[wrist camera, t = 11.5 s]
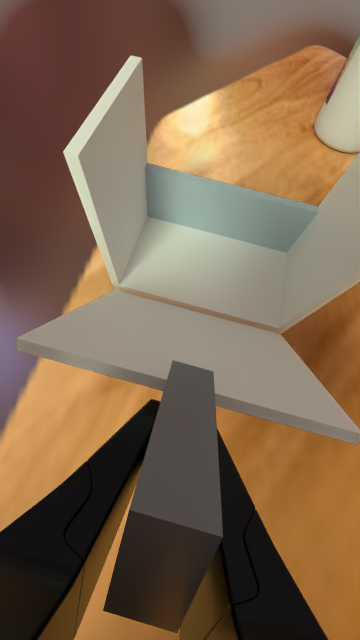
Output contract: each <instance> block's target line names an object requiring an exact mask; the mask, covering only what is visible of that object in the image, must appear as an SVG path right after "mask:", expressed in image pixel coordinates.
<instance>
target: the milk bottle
mask: <svg viewBox="0 0 360 640" xmlns="http://www.w3.org/2000/svg"><path fill="white" fill-rule="evenodd" d="M314 131H315V134H316V136H317V137H318V138H319V140H320V141H322V142H323V143H324V144H325V145H327V146H328V147H330V148H333V149H335V150H338V151H341V152H345V153H358V152H360V36H359V38H358V40H357V41H356V43H355V45H354V47H353V49H352V51H351V53H350V55H349V56H348V58H347V60H346V62H345V64H344V66H343V68H342V70H341V72H340V73H339V75H338V77H337V79H336V81H335V83H334V85H333V87H332V89H331V91H330V92H329V94H328V96H327V98H326V100H325V102H324V104H323V106H322V108H321V110H320V112H319V114H318V116H317V118H316V120H315V123H314Z"/></svg>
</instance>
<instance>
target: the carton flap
mask: <svg viewBox="0 0 360 640" xmlns="http://www.w3.org/2000/svg"><path fill="white" fill-rule="evenodd" d="M16 350H18V351H22V352H25V353H29V354H32V355H36V356H40V357H43V358H47V359H50V360H54V361H58V362H61V363H65V364H68V365H72V366H75V367H79V368H83V369H86V370H90V371H93V372H97V373H101V374H104V375H108V376H111V377H115V378H119V379H122V380H126V381H129V382H133V383H136V384H140V385H144V386H147V387H151V388H154V389H158V390H162V391H164V392H163V395H162V399H161V402H160V406H159V409H158V413H157V416H156V420H155V423H154V426H153V430H152V433H151V437H150V440H149V444H148V447H147V451H146V454H145V458H144V461H143V464H142V468H141V471H140V475H139V478H138V482H137V485H136V489H135V492H134V496H133V499H132V503H131V506H130V509H129V513H128V517H127V521H126V525H125V529H124V532H123V536H122V540H121V544H120V548H119V552H118V555H117V559H116V563H115V567H114V571H113V575H112V578H111V582H110V586H109V590H108V594H107V598H106V601H105V605H104V609H103V611H106V612H109V613H112V614H116V615H119V616H122V617H125V618H129V619H132V620H135V621H139V622H142V623H145V624H149V625H152V626H155V627H158V628H162V629H165V630H168V631H172V632H175V633H177V632H178V630H179V628H180V626H181V624H182V621H183V619H184V617H185V615H186V613H187V611H188V609H189V607H190V605H191V603H192V601H193V599H194V597H195V594H196V592H197V590H198V588H199V586H200V584H201V582H202V580H203V578H204V576H205V574H206V572H207V569H208V567H209V565H210V563H211V561H212V559H213V557H214V555H215V553H216V551H217V549H218V547H219V545H220V542H221V540H222V538H223V528H222V511H221V493H220V476H219V459H218V441H217V424H216V407H215V406H219V407H223V408H226V409H230V410H233V411H237V412H240V413H244V414H248V415H251V416H255V417H258V418H262V419H266V420H269V421H273V422H276V423H280V424H284V425H287V426H291V427H294V428H298V429H301V430H305V431H309V432H312V433H316V434H319V435H323V436H327V437H330V438H334V439H337V440H341V441H345V442H348V443H352V444H355V445H358V443H359V442H360V429H359V428H358V427H357V426H356V425H355V423H354V422H353V421H352V420H351V419H350V417H349V416H348V415H347V414H346V413H345V411H344V410H343V409H342V408H341V406H340V405H339V404H338V403H337V402H336V400H335V399H334V398H333V397H332V396H331V394H330V393H329V392H328V391H327V390H326V388H325V387H324V386H323V385H322V384H321V382H320V381H319V380H318V379H317V378H316V376H315V375H314V374H313V373H312V372H311V370H310V369H309V368H308V367H307V365H306V364H305V363H304V362H303V361H302V359H301V358H300V357H299V356H298V355H297V353H296V352H295V351H294V350H293V349H292V347H291V346H290V345H289V344H288V343H287V341H286V340H285V339H284V338H283V337H282V335H281V334H277V333H274V332H270V331H266V330H262V329H259V328H255V327H251V326H248V325H244V324H240V323H236V322H233V321H229V320H225V319H222V318H218V317H214V316H210V315H207V314H203V313H199V312H196V311H192V310H188V309H185V308H181V307H177V306H173V305H170V304H166V303H162V302H159V301H155V300H151V299H147V298H144V297H140V296H136V295H133V294H129V293H125V292H122V291H118V290H113V291H111V292H109V293H107V294H105V295H103V296H101V297H99V298H97V299H95V300H93V301H91V302H89V303H87V304H85V305H83V306H81V307H79V308H77V309H75V310H73V311H71V312H68V313H66V314H64V315H62V316H60V317H58V318H56V319H54V320H52V321H50V322H48V323H46V324H44V325H42V326H40V327H38V328H36V329H34V330H32V331H30V332H28V333H26V334H24V335H22V336H20V337H18V338H16Z"/></svg>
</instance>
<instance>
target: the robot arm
mask: <svg viewBox="0 0 360 640" xmlns="http://www.w3.org/2000/svg"><path fill="white" fill-rule="evenodd" d="M159 406H160V401H157V400H154V399H151V400H150V401H149V402H147V403H146V404H145V405H144V406H143V407H142V408H141V409H140V410H139V411H138V412H137V413H136V414H135V415H134V416H133V417H132V418H131V419H130V420H129V421H128V422H127V423H126V424H124V425H123V426H122V427H121V428H120V429H119V430H118V431H117V432H116V433H115V434H114V435H113V436H112V437H111V438H110V439H109V440H108V441H107V442H106V443H105V444H104V445H103V446H101V447H100V448H99V449H98V450H97V451H96V452H95V453H94V454H93V455H92V456H91V457H90V458H89V459H88V461H86V462H85V463H84V464H82V465H81V466H80V467H79V468H78V469H77V470H76V471H75V472H74V473H73V474H72V475H71V476H70V477H68V478H67V479H66V480H65V481H64V482H63V483H62V484H61V485H59V486H58V487H57V488H56V489H54V490H53V491H52V492H51V493H50V494H48V495H47V496H46V497H45V498H43V499H42V500H41V501H39V502H38V503H37V504H36V505H34V506H33V507H32V508H30V509H29V510H28V511H27V512H25V513H24V514H23V515H21V516H20V517H19V518H18V519H16V520H15V521H14V522H12V523H11V524H10V525H9V526H7V527H6V528H5V529H4V530H2V531H1V532H0V640H73V639H74V638H75V635H76V633H77V631H78V628H79V626H80V623H81V621H82V618H83V616H84V613H85V611H86V608H87V606H88V603H89V601H90V598H91V596H92V593H93V591H94V588H95V586H96V583H97V581H98V578H99V576H100V573H101V571H102V568H103V566H104V563H105V561H106V558H107V556H108V553H109V551H110V549H111V546H112V544H113V541H114V539H115V536H116V534H117V531H118V529H119V526H120V524H121V521H122V519H123V516H124V514H125V511H126V509H127V506H128V504H129V501H130V499H131V496H132V494H133V491H134V489H135V486H136V484H137V481H138V478H139V475H140V471H141V468H142V464H143V461H144V458H145V454H146V451H147V447H148V444H149V440H150V437H151V433H152V430H153V426H154V423H155V420H156V416H157V413H158V409H159ZM217 441H218V459H219V476H220V493H221V511H222V528H223V538H222V540H221V542H220V545H219V547H218V549H217V551H216V553H215V555H214V557H213V559H212V561H211V563H210V565H209V567H208V569H207V572H206V574H205V576H204V578H203V580H202V582H201V584H200V586H199V588H198V590H197V592H196V594H195V597H194V599H193V601H192V603H191V605H190V607H189V609H188V611H187V613H186V615H185V617H184V619H183V621H182V624H181V626H180V640H328V638H327V637H326V635H325V633H324V632H323V630H322V628H321V627H320V625H319V623H318V621H317V620H316V618H315V616H314V614H313V613H312V611H311V609H310V607H309V606H308V604H307V602H306V601H305V599H304V597H303V595H302V594H301V592H300V590H299V588H298V587H297V585H296V583H295V582H294V580H293V578H292V576H291V575H290V573H289V571H288V569H287V568H286V566H285V564H284V562H283V560H282V559H281V557H280V555H279V553H278V551H277V550H276V548H275V546H274V544H273V542H272V540H271V538H270V536H269V534H268V532H267V530H266V528H265V526H264V525H263V522H262V520H261V518H260V516H259V514H258V512H257V510H255V506H254V504H253V502H252V500H251V498H250V496H249V494H248V491H247V489H246V487H245V485H244V483H243V481H242V479H241V477H240V475H239V473H238V471H237V469H236V467H235V464H234V462H233V460H232V458H231V456H230V454H229V452H228V450H227V448H226V446H225V444H224V442H223V439H222V437H221V435H220V433H219V431H218V429H217Z"/></svg>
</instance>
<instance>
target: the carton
mask: <svg viewBox="0 0 360 640" xmlns="http://www.w3.org/2000/svg"><path fill="white" fill-rule="evenodd" d="M63 153H64V155H65V158H66V161H67V164H68V166H69V169H70V171H71V174H72V177H73V180H74V182H75V185H76V188H77V191H78V193H79V196H80V199H81V201H82V204H83V207H84V209H85V212H86V215H87V217H88V220H89V223H90V225H91V228H92V231H93V234H94V236H95V239H96V242H97V244H98V247H99V250H100V253H101V255H102V258H103V261H104V263H105V266H106V269H107V271H108V274H109V277H110V280H111V282H112V285H113V288H114V290H118V291H122V292H125V293H129V294H133V295H136V296H140V297H144V298H147V299H151V300H155V301H159V302H162V303H166V304H170V305H173V306H177V307H181V308H185V309H188V310H192V311H196V312H199V313H203V314H207V315H210V316H214V317H218V318H222V319H225V320H229V321H233V322H236V323H240V324H244V325H248V326H251V327H255V328H259V329H262V330H266V331H270V332H274V333H277V334H282V333H283V332H285V331H286V330H288V329H289V328H291V327H292V326H294V325H295V324H297V323H298V322H300V321H301V320H303V319H304V318H306V317H307V316H309V315H310V314H312V313H313V312H315V311H316V310H318V309H319V308H321V307H322V306H324V305H325V304H327V303H328V302H330V301H331V300H333V299H334V298H336V297H337V296H339V295H340V294H342V293H343V292H345V291H346V290H348V289H349V288H351V287H352V286H354V285H355V284H357V283H359V282H360V153H359V154H358V155H357V156H356V158H355V159H354V160H353V162H352V163H351V164H350V166H349V167H348V168H347V170H346V171H345V172H344V174H343V175H342V176H341V177H340V179H339V180H338V181H337V183H336V184H335V185H334V187H333V188H332V189H331V191H330V192H329V193H328V195H327V196H326V197H325V198H324V200H323V201H322V202H321V204H320V205H319V206H318V207H317V206H313V205H309V204H306V203H302V202H298V201H294V200H290V199H286V198H282V197H278V196H274V195H270V194H266V193H263V192H259V191H255V190H251V189H247V188H243V187H239V186H235V185H231V184H227V183H223V182H220V181H216V180H212V179H208V178H204V177H200V176H196V175H192V174H188V173H184V172H180V171H177V170H173V169H169V168H165V167H161V166H157V165H153V164H149V163H147V147H146V128H145V109H144V89H143V70H142V58H139V57H135V56H130V57H129V59H128V60H127V62H126V63H125V64H124V66H123V67H122V69H121V70H120V72H119V73H118V74H117V76H116V77H115V79H114V80H113V81H112V83H111V84H110V86H109V87H108V89H107V90H106V91H105V93H104V94H103V96H102V97H101V99H100V100H99V102H98V103H97V104H96V106H95V107H94V109H93V110H92V112H91V113H90V114H89V116H88V117H87V119H86V120H85V122H84V123H83V124H82V126H81V127H80V129H79V130H78V132H77V133H76V134H75V136H74V137H73V139H72V140H71V142H70V143H69V144H68V146H67V147H66V149H65V150H64V151H63Z"/></svg>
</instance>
